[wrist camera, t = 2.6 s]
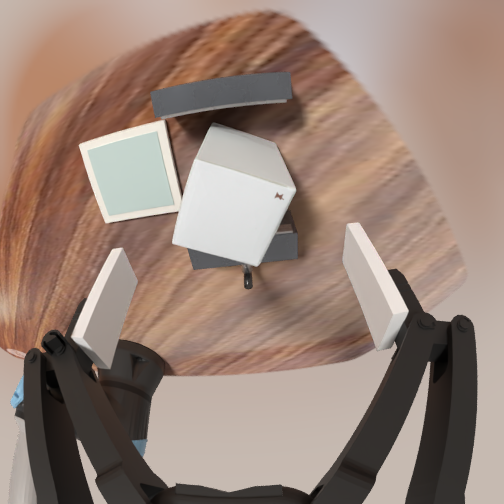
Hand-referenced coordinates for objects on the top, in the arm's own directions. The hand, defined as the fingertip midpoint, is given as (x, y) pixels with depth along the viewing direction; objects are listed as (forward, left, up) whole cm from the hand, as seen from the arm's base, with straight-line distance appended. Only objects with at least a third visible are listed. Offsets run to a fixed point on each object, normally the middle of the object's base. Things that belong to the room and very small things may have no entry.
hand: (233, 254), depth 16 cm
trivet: (-12, 0, -17) cm, 21 cm away
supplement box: (0, 0, -17) cm, 17 cm away
